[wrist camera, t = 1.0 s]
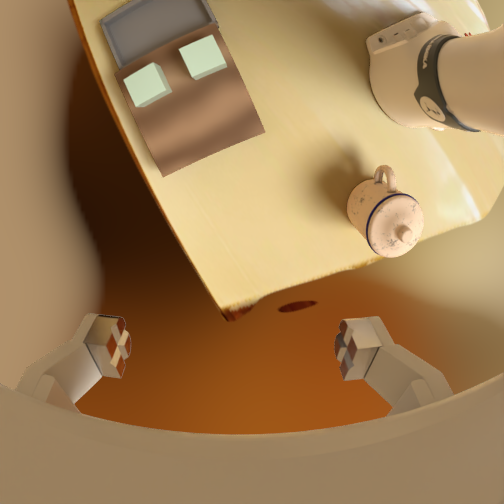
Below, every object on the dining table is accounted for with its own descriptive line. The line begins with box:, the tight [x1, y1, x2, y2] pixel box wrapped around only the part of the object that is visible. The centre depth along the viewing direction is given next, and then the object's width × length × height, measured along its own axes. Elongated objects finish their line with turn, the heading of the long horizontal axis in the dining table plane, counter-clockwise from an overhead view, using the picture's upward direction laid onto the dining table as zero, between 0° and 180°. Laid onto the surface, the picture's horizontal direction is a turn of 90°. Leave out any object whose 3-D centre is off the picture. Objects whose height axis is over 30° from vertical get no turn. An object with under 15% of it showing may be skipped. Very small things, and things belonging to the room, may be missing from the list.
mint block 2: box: [179, 35, 227, 80], centre depth 25 cm, size 4×4×3 cm
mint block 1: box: [124, 62, 172, 107], centre depth 26 cm, size 4×4×3 cm
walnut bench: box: [114, 23, 265, 177], centre depth 31 cm, size 16×14×4 cm
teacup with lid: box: [347, 165, 424, 257], centre depth 35 cm, size 12×9×12 cm
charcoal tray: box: [99, 0, 219, 70], centre depth 25 cm, size 10×14×2 cm
